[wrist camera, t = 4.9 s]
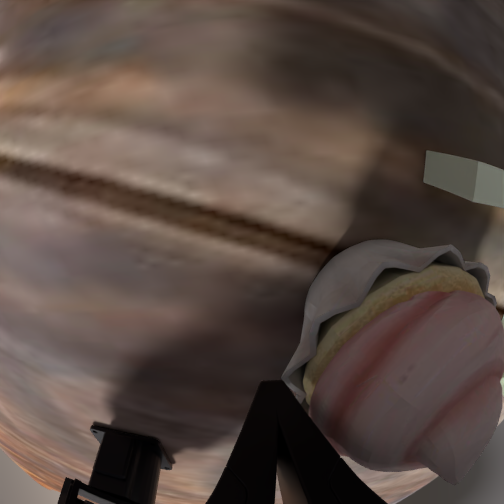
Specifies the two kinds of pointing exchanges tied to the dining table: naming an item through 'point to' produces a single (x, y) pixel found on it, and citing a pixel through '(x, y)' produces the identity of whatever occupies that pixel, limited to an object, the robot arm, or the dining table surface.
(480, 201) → the pocket
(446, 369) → the cupcake
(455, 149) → the dining table surface
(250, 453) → the robot arm
